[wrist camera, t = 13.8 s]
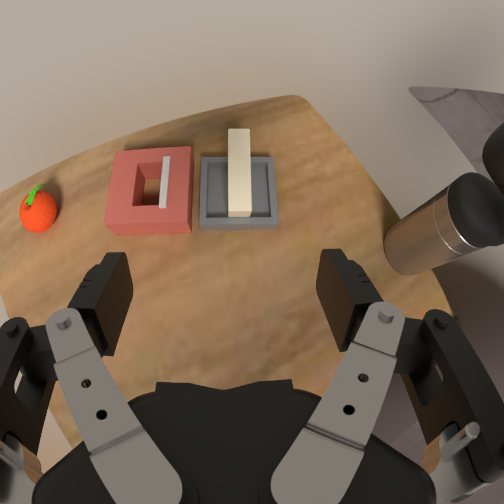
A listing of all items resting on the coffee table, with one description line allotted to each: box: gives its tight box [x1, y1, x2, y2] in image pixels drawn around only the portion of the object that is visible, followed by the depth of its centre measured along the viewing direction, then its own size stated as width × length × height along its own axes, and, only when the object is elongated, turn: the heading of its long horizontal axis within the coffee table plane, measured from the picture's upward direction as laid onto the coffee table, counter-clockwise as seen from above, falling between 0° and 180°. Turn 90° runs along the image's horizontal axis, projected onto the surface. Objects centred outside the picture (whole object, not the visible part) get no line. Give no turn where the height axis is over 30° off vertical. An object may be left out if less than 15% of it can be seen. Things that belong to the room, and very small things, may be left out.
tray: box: [199, 157, 279, 230], centre depth 45 cm, size 11×11×2 cm
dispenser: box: [104, 146, 194, 235], centre depth 42 cm, size 12×12×6 cm
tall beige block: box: [228, 129, 252, 218], centre depth 42 cm, size 3×6×12 cm
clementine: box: [20, 184, 57, 233], centre depth 40 cm, size 8×7×7 cm
